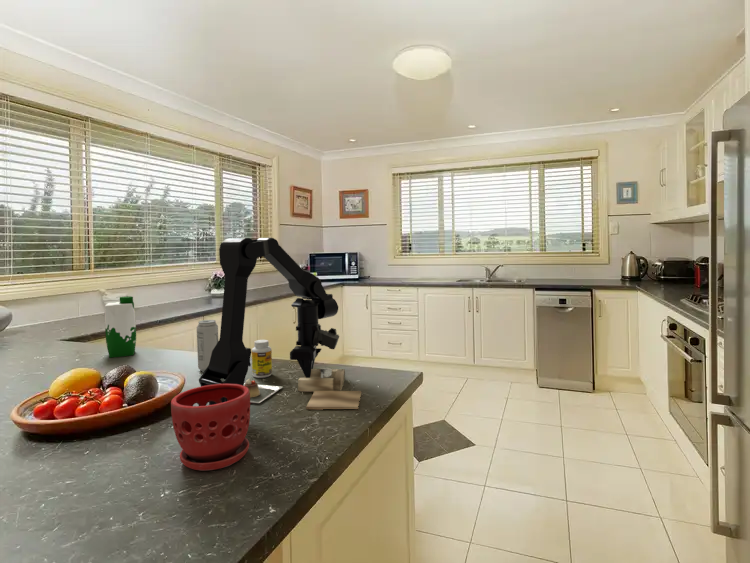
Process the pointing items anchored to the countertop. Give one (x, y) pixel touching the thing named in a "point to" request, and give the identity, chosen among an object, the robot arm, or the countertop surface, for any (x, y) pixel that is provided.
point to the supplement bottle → (261, 359)
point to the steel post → (326, 372)
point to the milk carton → (120, 327)
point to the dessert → (255, 387)
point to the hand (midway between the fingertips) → (308, 376)
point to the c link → (322, 381)
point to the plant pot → (212, 425)
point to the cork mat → (334, 400)
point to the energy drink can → (206, 342)
